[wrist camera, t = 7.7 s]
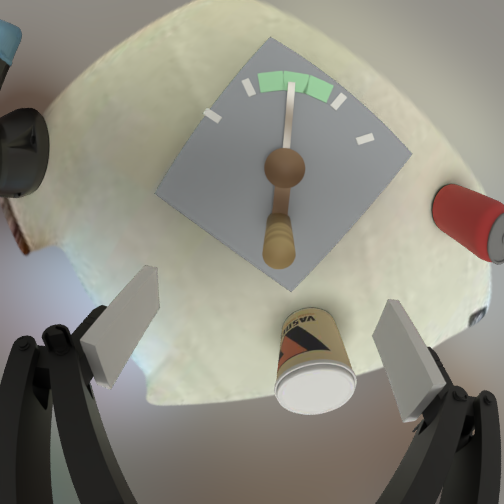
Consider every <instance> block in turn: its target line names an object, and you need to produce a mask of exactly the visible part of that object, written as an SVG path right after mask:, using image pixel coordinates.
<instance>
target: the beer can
mask: <svg viewBox="0 0 504 504" xmlns="http://www.w3.org/2000/svg"><path fill="white" fill-rule="evenodd" d="M432 212H433V218H434V221H435V223H436V225H437V227H438V228H439V229H440V230H441V231H443V232H444V233H446V234H447V235H449V236H450V237H452V238H453V239H454V240H456V241H457V242H459V243H460V244H461V245H463V246H464V247H465V248H467V249H468V250H469V251H471V252H472V253H473V254H475V255H476V256H477V257H479V258H480V259H482V260H485V261H487V262H493V263H495V264H497V265H498V264H502V263H504V205H503V204H502V203H501V202H499V201H497V200H494V199H492V198H490V197H487V196H485V195H482V194H480V193H477V192H475V191H472V190H470V189H467V188H464V187H462V186H459V185H455V184H449V185H447V186H444V187H443V188H442V189H441V190H440V191H439V192H438V194H437V195H436V197H435V200H434V203H433V211H432Z"/></svg>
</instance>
